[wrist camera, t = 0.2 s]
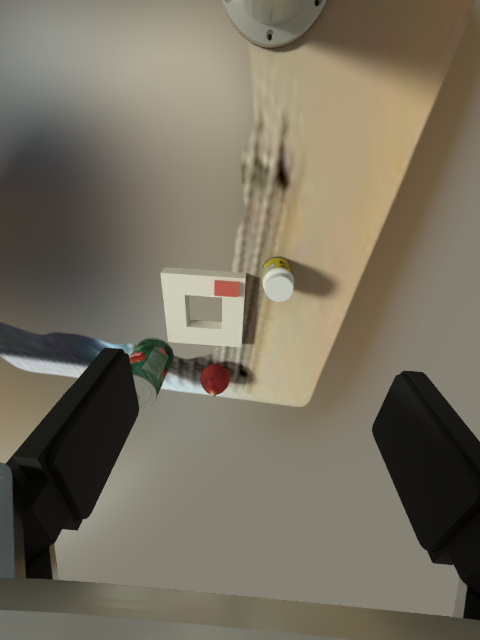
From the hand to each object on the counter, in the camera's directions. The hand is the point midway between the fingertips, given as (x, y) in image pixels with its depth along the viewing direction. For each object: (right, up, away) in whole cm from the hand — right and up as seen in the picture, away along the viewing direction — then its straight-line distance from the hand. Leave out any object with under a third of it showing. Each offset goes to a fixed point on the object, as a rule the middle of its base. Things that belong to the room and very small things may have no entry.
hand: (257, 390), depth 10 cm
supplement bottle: (+6, +11, +35) cm, 37 cm away
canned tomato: (-18, -4, +46) cm, 50 cm away
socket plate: (-7, +5, +40) cm, 40 cm away
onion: (-5, -7, +47) cm, 48 cm away
